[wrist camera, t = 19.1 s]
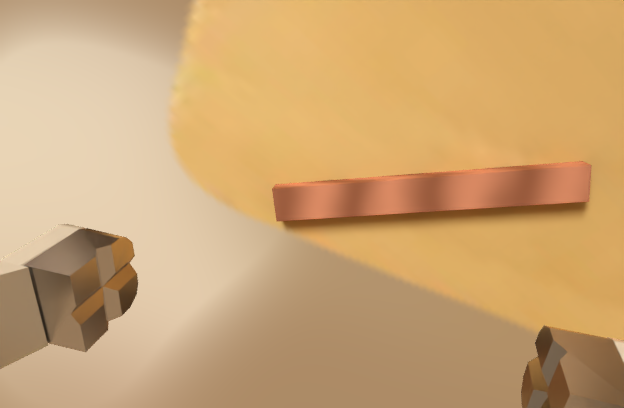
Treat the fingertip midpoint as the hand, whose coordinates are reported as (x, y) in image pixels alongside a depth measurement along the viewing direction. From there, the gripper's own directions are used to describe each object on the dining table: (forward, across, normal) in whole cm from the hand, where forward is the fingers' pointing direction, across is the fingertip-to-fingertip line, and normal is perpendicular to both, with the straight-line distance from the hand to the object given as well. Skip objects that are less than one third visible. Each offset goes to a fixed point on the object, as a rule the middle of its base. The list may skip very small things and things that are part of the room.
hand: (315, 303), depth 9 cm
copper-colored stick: (+31, -2, +10) cm, 33 cm away
